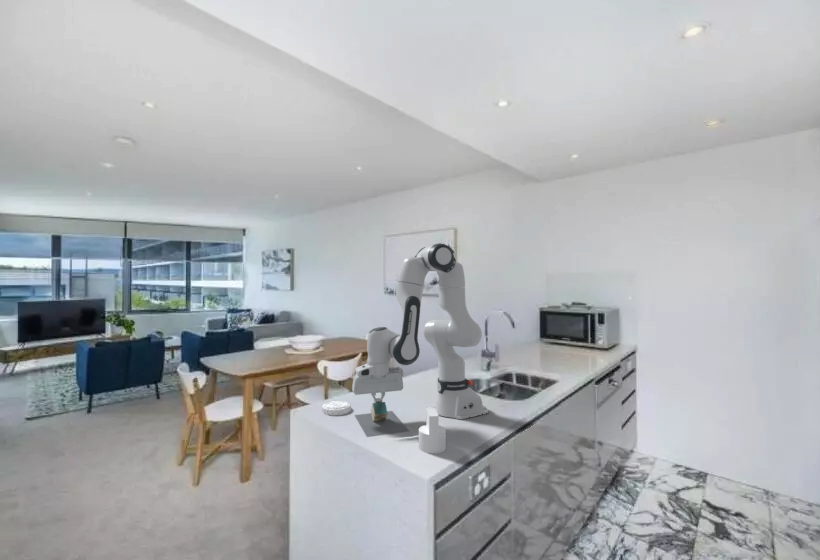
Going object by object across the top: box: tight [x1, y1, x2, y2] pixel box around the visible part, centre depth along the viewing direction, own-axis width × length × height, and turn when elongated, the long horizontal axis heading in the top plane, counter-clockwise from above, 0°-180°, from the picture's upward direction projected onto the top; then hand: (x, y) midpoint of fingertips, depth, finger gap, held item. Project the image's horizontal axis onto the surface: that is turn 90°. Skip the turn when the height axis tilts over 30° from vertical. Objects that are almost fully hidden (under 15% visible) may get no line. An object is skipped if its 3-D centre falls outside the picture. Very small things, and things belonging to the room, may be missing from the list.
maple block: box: [370, 401, 388, 422], centre depth 150 cm, size 5×5×5 cm
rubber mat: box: [354, 410, 410, 438], centre depth 148 cm, size 16×23×1 cm
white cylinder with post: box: [418, 406, 447, 455], centre depth 128 cm, size 9×9×12 cm
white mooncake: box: [321, 399, 352, 416], centre depth 162 cm, size 12×12×4 cm
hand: (378, 403), depth 152 cm, fingers closed, pressing on maple block
